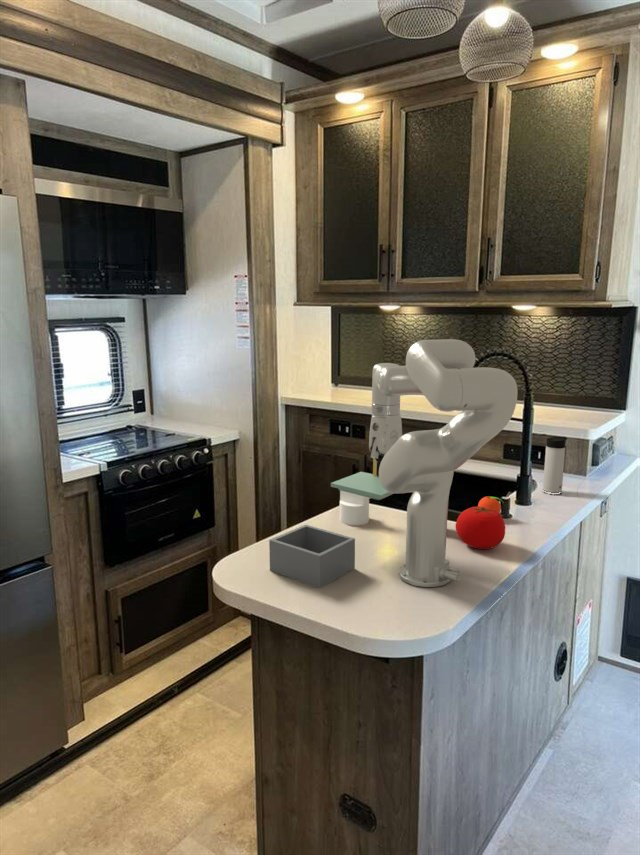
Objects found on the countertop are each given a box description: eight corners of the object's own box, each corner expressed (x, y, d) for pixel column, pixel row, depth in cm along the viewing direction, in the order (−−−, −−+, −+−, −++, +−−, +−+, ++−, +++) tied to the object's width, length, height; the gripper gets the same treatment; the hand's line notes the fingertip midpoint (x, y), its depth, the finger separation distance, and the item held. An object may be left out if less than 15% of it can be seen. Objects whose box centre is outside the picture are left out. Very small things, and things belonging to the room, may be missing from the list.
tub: (354, 568, 155) (355, 538, 154) (319, 588, 145) (319, 556, 143) (305, 553, 165) (305, 524, 164) (269, 570, 155) (269, 539, 153)
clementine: (502, 515, 195) (503, 493, 194) (505, 522, 188) (506, 500, 187) (476, 513, 196) (477, 492, 195) (478, 521, 190) (479, 499, 188)
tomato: (497, 558, 162) (499, 518, 160) (449, 547, 169) (451, 509, 167) (510, 543, 172) (512, 505, 170) (464, 534, 179) (466, 497, 177)
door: (410, 489, 166) (411, 464, 164) (381, 502, 155) (381, 476, 153) (361, 478, 175) (361, 454, 174) (330, 490, 165) (330, 464, 163)
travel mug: (565, 495, 215) (569, 439, 211) (546, 495, 215) (550, 439, 212) (558, 490, 221) (563, 435, 218) (540, 489, 222) (544, 435, 218)
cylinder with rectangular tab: (333, 521, 189) (334, 483, 187) (349, 513, 197) (349, 477, 194) (359, 527, 184) (360, 488, 182) (374, 518, 192) (374, 481, 189)
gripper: (381, 415, 157) (379, 485, 161) (412, 407, 169) (410, 472, 173) (357, 412, 162) (356, 479, 166) (389, 404, 174) (387, 467, 178)
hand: (383, 475), depth 169 cm, fingers closed on door, 1 cm apart
